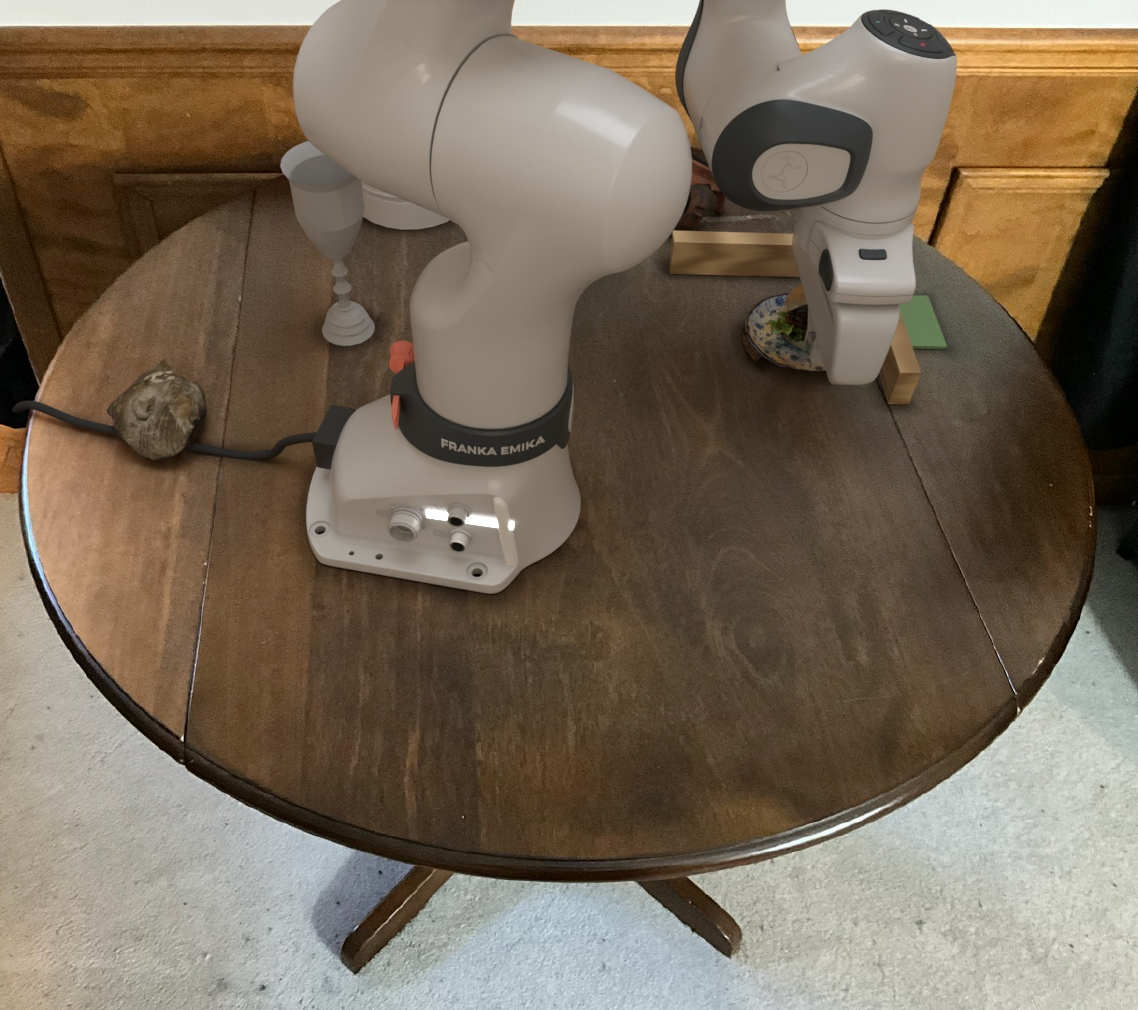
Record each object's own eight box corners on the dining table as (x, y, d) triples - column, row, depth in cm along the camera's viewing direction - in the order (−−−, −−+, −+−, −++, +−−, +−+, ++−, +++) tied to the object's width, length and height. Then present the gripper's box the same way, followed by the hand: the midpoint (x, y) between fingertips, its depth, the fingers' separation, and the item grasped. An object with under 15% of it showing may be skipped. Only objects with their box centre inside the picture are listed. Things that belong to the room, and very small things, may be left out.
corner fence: (684, 400, 96) (690, 367, 93) (668, 262, 110) (672, 230, 107) (909, 404, 97) (921, 372, 94) (864, 267, 110) (874, 235, 107)
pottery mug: (618, 201, 118) (651, 132, 114) (687, 231, 122) (721, 164, 118) (650, 238, 108) (688, 163, 104) (724, 268, 112) (762, 197, 108)
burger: (740, 376, 98) (753, 314, 93) (743, 299, 106) (755, 237, 100) (867, 392, 98) (889, 329, 92) (861, 313, 105) (881, 251, 100)
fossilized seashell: (221, 439, 87) (217, 376, 94) (160, 389, 83) (161, 328, 90) (153, 490, 88) (155, 424, 96) (90, 443, 84) (96, 378, 91)
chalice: (362, 360, 98) (337, 192, 84) (298, 342, 99) (263, 173, 86) (397, 315, 102) (379, 148, 89) (335, 298, 104) (308, 131, 90)
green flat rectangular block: (895, 348, 102) (896, 345, 102) (879, 297, 107) (880, 294, 107) (946, 349, 102) (947, 346, 102) (927, 298, 107) (928, 295, 107)
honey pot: (420, 243, 110) (406, 80, 97) (328, 202, 114) (302, 40, 101) (491, 189, 117) (488, 30, 104) (402, 152, 122) (388, -5, 108)
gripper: (794, 153, 91) (765, 282, 102) (839, 299, 78) (800, 430, 88) (864, 155, 91) (828, 283, 102) (922, 301, 78) (874, 431, 88)
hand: (816, 353), depth 95 cm, fingers closed
